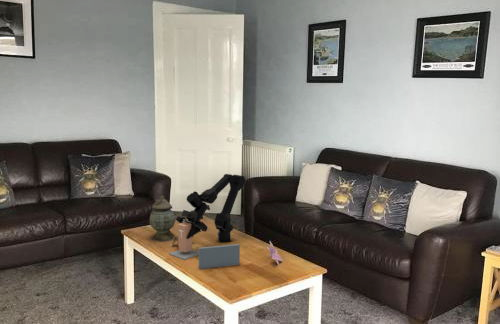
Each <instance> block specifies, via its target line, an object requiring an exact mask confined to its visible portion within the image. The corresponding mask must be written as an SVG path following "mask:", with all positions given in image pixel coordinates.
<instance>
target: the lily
mask: <svg viewBox="0 0 500 324" xmlns="http://www.w3.org/2000/svg"><path fill="white" fill-rule="evenodd" d="M269 245H270V247H269V246H266V248H267V249H268V251H269V256H268V257H267V258H266V259H265V261H264V262H265V263H266V262H267V261H268V259H269V258H270V257H271V260H274V261H275V262H276V263H277V266H280V263H279V261H281V262H283V259H282V257H281V256H280V254H278V250H277V249H276V248H275V247H274V245H273V243H272V242H271V241H269Z"/></svg>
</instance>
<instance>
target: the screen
mask: <svg viewBox="0 0 500 324" xmlns="http://www.w3.org/2000/svg"><path fill="white" fill-rule="evenodd" d="M240 247H241V246H240V244H239V243H238V244H237V243H236V244H225V245H216V246H215V245H214V246H204V247H203V246H202V247H198V251H199V255H198V270H200V269H201V270H202V269H210V268H218V267H219V268H220V267H229V266H231V267H232V266H239V265H240V260H241V259H240V257H241V256H240V255H241V254H240V249H241V248H240Z"/></svg>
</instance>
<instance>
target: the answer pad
mask: <svg viewBox="0 0 500 324" xmlns="http://www.w3.org/2000/svg"><path fill="white" fill-rule="evenodd" d="M168 255H170V256H172V257H174V258H175V257H176V258H178V259H181V260H184V261H185V260H188V259H191V258H194V257H196V256H199V250H195V249H192V250H190V251H188V252H182V251H179V249H177V250H175V251H172V252H169V253H168Z"/></svg>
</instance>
